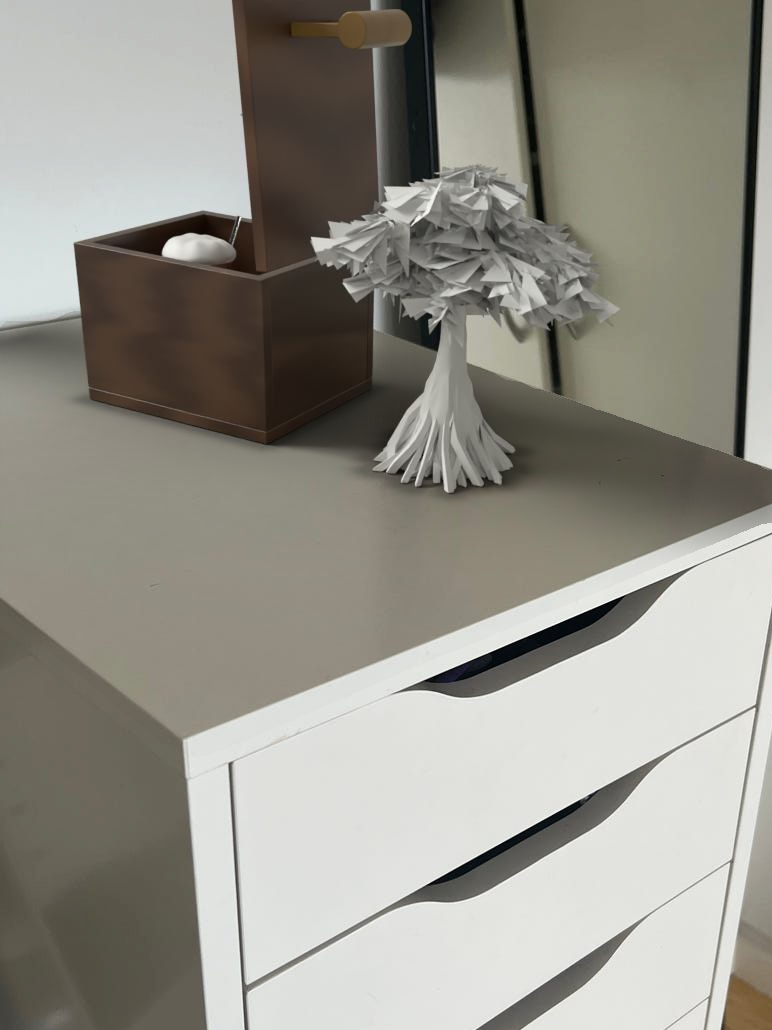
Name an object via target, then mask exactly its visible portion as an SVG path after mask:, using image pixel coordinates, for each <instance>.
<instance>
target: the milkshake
mask: <svg viewBox="0 0 772 1030" xmlns="http://www.w3.org/2000/svg"><path fill="white" fill-rule="evenodd" d="M241 217H242V215H241V216H240V215H237V218H236V221H235V225H234V228H233V231H232V234H231V238H230V241H229V243H227V242H226V241H224V240H222V239H219V238H216V237H212V236H210V235H198V234H194V233H188V234H184V235H181V236H176V237H173V238H171V239H169V240H168V241H167V243H166V244H165V246H164V248H163V250H162V256H163V257H168V258H173V259H178V260H183V261H188V262H193V263H198V264H203V265H208V266H213V267H218V268H223V269H228V270H233V271H235V262H236V251H235V249H234V248H233V243H234V240H235V237H236V234H237V230H238V227H239V224H240V221H241Z"/></svg>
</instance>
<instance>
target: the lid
mask: <svg viewBox="0 0 772 1030" xmlns="http://www.w3.org/2000/svg"><path fill="white" fill-rule="evenodd" d="M371 1H372V0H231V6H232V17H233V29H234V41H235V50H236V52H235V53H236V62H237V72H238V73H237V74H238V83H239V95H240V96H239V97H240V106H241V115H242V116H241V117H242V118H241V119H242V128H243V139H244V148H245V149H244V151H245V161H246V162H245V163H246V171H247V183H248V195H249V206H250V216H251V219H252V228H253V239H254V250H255V261H256V271H258V272H270V271H273V270H276V269H279V268H282V267H285V266H288V265H291V264H294V263H297V262H300V261H303V260H306V259H309V258H312V257H315V256H317V255H316V253H315V250H314V248H313V246H312V244H311V241H312V239H311V237H317V238H327V239H331V238H330V233H329V230H331V229H330V226H329V223H328V221H330V222H338V223H341V221H342V222H345V223H348V224H351V222H354V220H357V221H366V219H364V218H363V217H362V216H363V215H369V214H370V213H371V212H372V211H373V209H374V203H375V201H376V202H378V203H379V204H380V191H379V188H380V187H379V168H378V167H379V166H378V165H379V163H378V145H377V144H378V143H377V139H378V138H377V117H376V96H375V95H376V93H375V73H374V72H375V71H374V68H375V67H374V50H373V49H376V48H389V47H398V46H404V45H405V44H406V43H407V42H408V41H409V39H410V38H411V36H412V29H413V26H412V21H411V19H410V17H409V15H408V14H407V13H406V12H405V11H404V10H401V9H398V8H397V9H396V8H393V9H374V10H372V2H371ZM310 240H311V241H310Z"/></svg>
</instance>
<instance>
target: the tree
mask: <svg viewBox="0 0 772 1030" xmlns="http://www.w3.org/2000/svg"><path fill="white" fill-rule="evenodd" d="M498 169H499V166H496V167H495V168H493V167H492V166H491V167H490V166H489V167H487V166H486V165H483V164H482V163H480V164H479V163H477V164H472V165H471V164H469V165H468V166H462V167H454V168H451V167H447V166H442V167H441V171H438V172H434V174H435V175H440V176H439V177H437V178H431V179H427V178H422V181H414V183H413V182H408V184H409V185H410V186H383V189H384V190H385V192H384V196H385V198H386V201H382V203H380V202H379V203H378V202H376V201H375V203H374V209H373V211H372V212H371V213H370V214H369V215H363V216H362V217H363V218H364V219H366V221H357V220H354V222H351V224H348V223H345V222H342V221H341V223H338V222H330V221H328V223H329V226H330V229H331V230H329V233H330V238H331V239H327V238H317V237H311V239H312V241H311V240H310V241H311V244H312V246H313V248H314V250H315V253H316V255H317V259H319V261H320V264H321V265H323V264H326V263H327V267H329V266H331V265H335V267H336V268H337V270H338V269H339V268H340V267H342V266H343V265H344V264H346V263H347V270H348V269H349V268H350V273H351V271H352V277H351V278H347V279H343V282H344V283H343V285H344V286H345V288H346V289H347V290H348V292H349V293H350V294H351V296H352V297H353V299H354V300H355V302H358V301H359V300H361V299H362V298H363V297H365V296H366V295H367V294H369V293H370V292H371V291H373V290H374V291H375V290H377V289H379V290H380V292H381V293H383V297H382V298H383V299H384V298H385V301H387V299H388V294H389V295H390V299H391V302H392V305H393V306H395V296H396V297H398V296H399V320H398V323H399V324H400V323H401V322H400V321H401V318H403V317H405V316H409V317H410V318H414V320H415V321H418V320H419V319H420V318H421V317H424V315H425V314H427V313H428V314H430V315H432V317H431V318H429V319H428V320H427V321H428V332H429V333H428V335H431V333H432V332H433V331H434V330H435V328H436V327H437V326H438V323H440V321H441V323H440V324H441V326H440V338H439V339H440V340H439V344H438V349H437V353H436V358H435V362H434V365H433V368H432V370H431V372H430V374H429V375H428V378H427V379H426V382H425V385H424V390H423V393H421V394H420V395H419V396H418V397H417V398H416V399H415V400H414V402H412V404H411V405H410V406H409V407H408V408H407V409H406V411H405V413H404V414H403V416H402V418H401V420H400V421H399V423H398V425H397V427H395V429H394V432H393V433H392V435H391V437H390V438H389V440H388V442H387V444H386V446H385V447H384V448H382V450H383V451H381V452H380V453H379V454H378V455H377V456H376V457H374V458H373V461H375V462H379V464H377V465H375V466H374V467H373V468H372V469H371V471H374V472H384V471H385V472H386V473H385V474H396V473H397V472H398V471H399V469H401V470H402V471H404V474H403V476H402V477H401V479H400V484H408V483H409V481H410V479H411V478H412V477H416V479H415V481H414V486H415V488H418V487H420V486H422V483H423V479H424V477H425V478H427V477H429V476H431V475H432V482H433V484H440V483H441V480H442V481H443V489H444V491H445V492H446V493H447V494H450V493H454V492H455V490H456V489H457V485H458V486H462V487H464V488H466V487H468V484H467V479H469V480H470V482H471V484H472V485H473V486H477V487H483V486H484V485H485V483H484V480H483V478H484V479H485V478H487V480H489V481H493V483H494V484H498V485H502V483H503V481H502V479H503V476H502V475H501V473H500V472H505V471H507V470H508V471H509V470H511V468H514V465H513V463H512V461H511V460H510V459H509V457H508V456H507V455H506V454H514V453H515V452H516V449H515V447H514V446H513V445H512V444H510V443H509V442H508V441H506V440H505V439H503V438H502V436H500V435H498V434H496V433H495V431H494V430H493V429H492V427H491V426H490V425H489V424H488V423H487V421H486V420H485V419H484V417H483V413H482V410H481V408H480V405H479V403H478V402H477V400H476V398H475V396H474V389H473V383H472V381H471V377H470V376H469V373H468V366H467V365H468V364H467V360H468V359H467V357H468V353H467V351H468V350H467V349H468V348H467V347H468V332H467V331H468V329H467V316H482V318H483V319H485V316H491V317H492V318H493V320H494V322H496V324H497V325H498V326H499V327H500V329H503V328H502V320H501V315H503V316H505V314H504V312H506V313H507V308H508V309H509V311H510V314H511V318H513V317H514V316H513V315H514V310H515V311H516V312H517V316H520V317H521V316H522V318H523V319H524V320H525V322H526V323H527V325H528V326H529V327H530V328H531V329H532V328H534V327H536V326H537V327H539V329H545V330H548V331H549V332H550V331H551V329H550V328H549V326H548V324H549V323H550V324H551V325H553V323H554V320H556V321H558V322H560V323H559V325H558V328H560V327H563V326H564V325H565V326H566V325H567V324H569V323H571V322H578V323H581V320H580V319H582V318H583V317H585V316H587V315H588V314H589V313H592V314H594V315H595V316H596V319H597V320H598V322H599V324H602V323H604V322H606V323H608V325H610V326H611V327H613V328H614V327H615V326H614V325H613V324H612V322H611V321H610V319H608V318H610V317H612V316H614V315H615V313H616V312H618V311H619V310H621V308H620V307H619V306H617V305H615V304H614V303H612V302H610V301H609V300H608V299H606V298H604V297H603V296H601V295H600V294H598V293H596V292H595V291H593V290H591V289H592V287H593V286H594V285H595V284H596V285H598V286H602V287H603V285H602V284H600V283H598V282H596V281H597V280H598V278H599V277H600V274H599V273H596V272H595V270H594V268H599V267H605V266H606V264H601V263H602V261H593V262H592V261H590V260H591V259H590V258H591V257H592V256H593V255H594V254H595V253H592V252H589V253H587V252H588V249H586V248H581V247H578V246H577V245H578V243H577V240H574V241H571V242H569V241H566V240H567V238H568V237H569V236H570V235H571V233H570V232H562V231H564V230H566V229H568V228H570V226H568V225H557V224H550V223H545V222H543V221H542V220H539V219H536V218H532V217H530V216H526V217H525V216H524V214H525V213H526V211H527V210H528V209H527V208H526V207H524V205H522V202H523V201H524V202H526V203H529V201H528V200H527V195H528V193H527V192H528V186H529V184H527V183H524V182H522V181H518V180H515V179H513V178H510V177H507V175H508V172H507V173H498V172H497V170H498ZM317 259H316V260H317ZM366 264H367V267H365V265H366ZM364 267H365V268H364ZM363 269H364V270H365V272H364V273H362V271H363ZM591 270H592V271H593V272H591ZM358 272H359V275H358V276H355V275H356V274H357V273H358ZM353 276H355V277H353ZM369 278H370V279H369ZM407 294H409V295H407ZM402 307H404V311H403V313H402ZM401 315H402V316H401ZM559 315H560V316H562V317H560V316H559ZM422 455H423V456H422ZM420 459H421V460H420Z"/></svg>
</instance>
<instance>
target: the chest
mask: <svg viewBox="0 0 772 1030" xmlns="http://www.w3.org/2000/svg"><path fill="white" fill-rule="evenodd" d="M237 216H238V215H237ZM237 216H236V215H230V214H227V213H226V214H225V213H220V212H214V211H208V210H204V209H202V210H198V211H195V212H190V213H185V214H182V215H178V216H174V217H170V218H166V219H163V220H157V221H154V222H151V223H146V224H142V225H138V226H134V227H130V228H126V229H122V230H117V231H113V232H111V233H106V234H103V235H98V236H94V237H91V238H86V239H83V240H78V241H74V242H73V253H74V261H75V271H76V280H77V289H78V300H79V301H78V302H79V309H80V310H79V311H80V317H81V319H80V320H81V328H82V337H83V338H82V339H83V348H84V357H85V367H86V376H87V377H86V378H87V386H88V393H89V399H90V400H94V401H98V402H101V403H105V404H108V405H113V406H117V407H121V408H125V409H129V410H133V411H137V412H140V413H144V414H148V415H152V416H156V417H160V418H163V419H168V420H171V421H175V422H179V423H183V424H185V425H186V424H187V425H190V426H195V427H199V428H202V429H206V430H209V431H214V432H218V433H221V434H226V435H230V436H233V437H237V438H240V439H245V440H249V441H253V442H256V443H261V444H265V445H268V444H269V443H271V442H273V441H275V440H277V439H279V438H281V437H282V436H285V435H287V434H288V433H291V432H292V431H294V430H296V429H298V428H299V427H302V426H304V425H305V424H307V423H309V422H311V421H313V420H314V419H316V418H318V417H319V418H320V417H321V416H322V415H325V414H326V413H328V412H330V411H332V410H333V409H336V408H338V407H339V406H341V405H343V404H345V403H347V402H349V401H351V400H353V399H354V398H356V397H358V396H360V395H363V394H364V393H366V392H368V391H370V390H372V389H373V376H374V375H373V373H374V372H373V371H374V370H373V369H374V326H375V325H374V319H375V318H374V315H375V289H374V290H373V291H371V292H370V293H369V294H367V295H366V296H365V297H363V298H362V299H361V300H359V301H358V302H355V300H354V299H353V297H352V296H351V294H350V293H349V292H348V290H347V289H346V288H345V286H344V285H343V283H344V282H343V279H347V278H351V277H352V271H351V273H350V268H349V269H348V270H347V263H346V264H344V265H343V266H342V267H340V268H339V269H338V270H337V268H336V267H335V265H331V266H329V267H327V263H326V264H323V265H321V264H320V261H319V259H317V256H315V257H312V258H309V259H306V260H303V261H300V262H297V263H294V264H291V265H288V266H285V267H282V268H279V269H276V270H273V271H270V272H258V271H256V261H255V250H254V239H253V228H252V218H247V217H242V216H241V221H240V224H239V227H238V230H237V234H236V237H235V240H234V243H233V248H234V249H235V251H236V262H235V271H233V270H228V269H223V268H218V267H213V266H208V265H203V264H198V263H193V262H188V261H183V260H178V259H173V258H168V257H163V256H162V250H163V248H164V246H165V244H166V243H167V241H168V240H169V239H171V238H173V237H176V236H181V235H184V234H188V233H194V234H198V235H210V236H212V237H216V238H219V239H222V240H224V241H226V242H227V243H229V241H230V238H231V234H232V231H233V228H234V225H235V221H236V218H237ZM316 259H317V260H316ZM365 267H367V264H366V265H365ZM365 267H364V268H365ZM364 272H365V270H364V269H363V271H362V273H364ZM358 275H359V272H358V273H357V274H356V275H355V276H358ZM355 276H353V277H355ZM369 279H370V278H369Z"/></svg>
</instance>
